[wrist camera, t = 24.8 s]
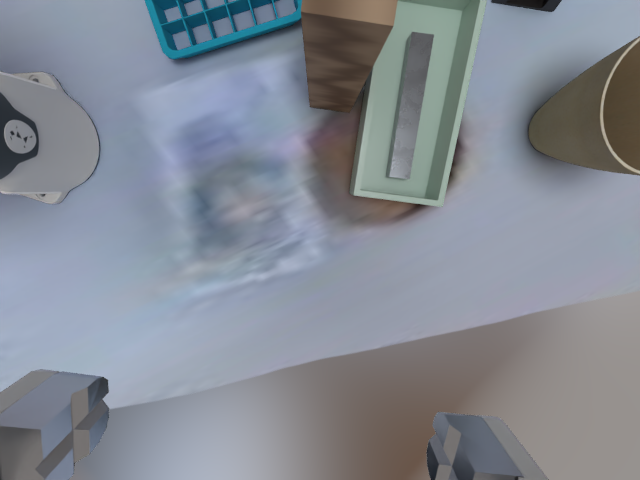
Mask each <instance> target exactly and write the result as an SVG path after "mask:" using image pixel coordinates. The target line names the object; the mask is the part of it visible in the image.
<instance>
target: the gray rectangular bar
mask: <svg viewBox="0 0 640 480" xmlns="http://www.w3.org/2000/svg"><path fill="white" fill-rule="evenodd" d="M433 38H434V34H426V33H418V32H411V34H410V35H409V37H408V39H407V40H406V46H405V53H404V59H403V66H402V72H401V79H400V85H399V92H398V99H397V105H396V112H395V118H394V125H393V131H392V138H391V144H390V151H389V157H388V164H387V170H386V177H390V178H399V179H410V174H411V168H412V162H413V156H414V150H415V145H416V139H417V133H418V127H419V121H420V115H421V109H422V103H423V97H424V91H425V86H426V80H427V74H428V68H429V62H430V56H431V50H432V44H433Z"/></svg>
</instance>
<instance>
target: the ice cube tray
mask: <svg viewBox="0 0 640 480" xmlns="http://www.w3.org/2000/svg"><path fill="white" fill-rule="evenodd" d="M191 1H194V0H145V3H146V6H147V8H148V11H149V14H150V17H151V20H152V22H153V25H154V28H155V31H156V34H157V37H158V39H159V42H160V45H161V48H162V51H163V53H164V54H165V55H166V56H168V57H169V58H171V59H175V60H176V59H179V58H189V57H192V56H195V55H198V54H202V53H205V52H208V51H211V50H214V49H218V48H221V47H224V46H227V45H230V44H233V43H237V42H240V41H243V40H246V39H249V38H252V37H256V36H259V35H262V34H265V33H268V32H272V31H275V30H278V29H281V28H284V27H287V26H291V25H293V24H294V23H296V22H297V21H299V20H300V19H301V5H302V0H294V3H295V7H296V12H294V13H293V14H291V15H288V16H285V17H282V18H279V19H278V16H277V13H276V9H275V5H274V2H275V1H279V0H236V1H233V2H230V3H228V0H224V2H225V4H224V5H221V6H217V7H214V8H211V9H208V8H207V5H206V1H205V0H200V2H201V5H202V8H203V11H202V12H199V13H196V14H193V15H189V16H188V15H187V12H186V9H185V6H184V4H185V3H188V2H191ZM269 3H272V4H273V8H274V11H275V15H276V19H275V20H272V21H269V22H266V23H263V24H260V25H257V22H256V18H255V15H254V11H253V9H254V8H257V7H260V6H263V5H266V4H269ZM176 6H178V8H179V11H180V14H181V17H182V18H180V19H177V20H174V21H171V22H167V19H166V16H165V13H164V10H166V9H169V8H173V7H176ZM250 9H251V13H252V16H253V20H254V23H255V26H253V27H250V28H247V29H244V30H241V31H237V29H236V26H235V23H234V19H233V16H232V15H235V14H238V13H241V12H244V11H247V10H250ZM228 16H229V18H230V22H231V25H232V28H233V32H234V33H231V34H228V35H225V36H222V37H218V38H217V36H216V33H215V30H214V27H213V24H212V22H213V21H216V20H219V19H222V18H225V17H228ZM203 24H208V27H209V30H210V33H211V36H212V40H209V41H206V42H203V43H200V44H197V43H196V40H195V37H194V34H193V31H192V28H194V27H197V26H200V25H203ZM185 30H186V32H187V34H188V37H189V40H190V43H191V46H190V47H187V48H184V49H181V50H177V48H176V45H175V42H174V39H173V36H172V34H175V33H178V32H182V31H185Z"/></svg>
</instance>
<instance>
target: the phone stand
mask: <svg viewBox="0 0 640 480" xmlns="http://www.w3.org/2000/svg"><path fill="white" fill-rule="evenodd" d="M560 2H561V0H492V3H498V4H504V5H510V6H517V7H523V8H529V9H535V10H541V11H548V12H552V11H554V10H555V9H556V7H557V6H558V5H559V3H560Z"/></svg>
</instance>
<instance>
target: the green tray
mask: <svg viewBox="0 0 640 480" xmlns="http://www.w3.org/2000/svg"><path fill="white" fill-rule="evenodd" d="M486 2H487V0H398V2H397V8H396V14H395V20H394V26H393V28H392V30H391V32H390V34H389V36H388V38H387V40H386V42H385V44H384V46H383V48H382V50H381V52H380V54H379V56H378V58H377V60H376V62H375V64H374V66H373V68H372V70H371V72H370V74H369V75H368V77H367V79H366V83H365V89H364V96H363V103H362V109H361V116H360V123H359V130H358V136H357V143H356V150H355V156H354V163H353V170H352V176H351V183H350V190H349V193H350V194H352V195H355V196H363V197H370V198H378V199H386V200H393V201H401V202H408V203H416V204H423V205H431V206H439V207H443V202H444V197H445V193H446V188H447V183H448V179H449V174H450V170H451V165H452V160H453V156H454V151H455V146H456V142H457V137H458V132H459V128H460V123H461V118H462V114H463V109H464V104H465V100H466V95H467V90H468V86H469V81H470V76H471V72H472V67H473V62H474V58H475V53H476V49H477V44H478V39H479V35H480V30H481V25H482V21H483V16H484V11H485V7H486ZM411 32H418V33H426V34H434V38H433V44H432V50H431V56H430V62H429V68H428V74H427V80H426V86H425V91H424V97H423V103H422V109H421V115H420V121H419V127H418V133H417V139H416V145H415V150H414V156H413V162H412V168H411V174H410V179H399V178H390V177H386V170H387V164H388V157H389V151H390V144H391V138H392V131H393V125H394V118H395V112H396V105H397V99H398V92H399V85H400V79H401V72H402V66H403V59H404V53H405V46H406V40H407V39H408V37H409V35H410V34H411Z"/></svg>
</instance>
